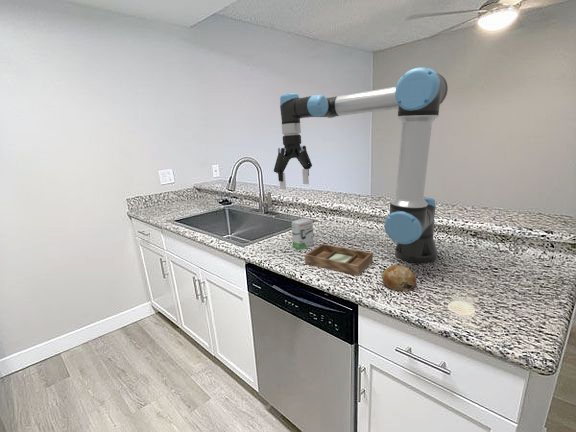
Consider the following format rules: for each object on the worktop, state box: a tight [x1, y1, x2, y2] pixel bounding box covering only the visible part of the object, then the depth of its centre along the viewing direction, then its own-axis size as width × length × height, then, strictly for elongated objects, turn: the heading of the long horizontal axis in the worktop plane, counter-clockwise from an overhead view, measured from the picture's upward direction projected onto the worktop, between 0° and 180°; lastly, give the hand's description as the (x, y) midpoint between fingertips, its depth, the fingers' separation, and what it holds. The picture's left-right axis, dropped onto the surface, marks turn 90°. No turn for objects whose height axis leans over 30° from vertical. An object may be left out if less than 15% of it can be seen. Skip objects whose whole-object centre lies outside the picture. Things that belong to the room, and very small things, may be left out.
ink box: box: [291, 217, 314, 250], centre depth 134 cm, size 9×5×12 cm, turn 128°
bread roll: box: [381, 264, 417, 292], centre depth 97 cm, size 10×10×8 cm
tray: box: [304, 243, 374, 277], centre depth 116 cm, size 22×14×4 cm, turn 54°
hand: (294, 186), depth 129 cm, fingers open, 13 cm apart
